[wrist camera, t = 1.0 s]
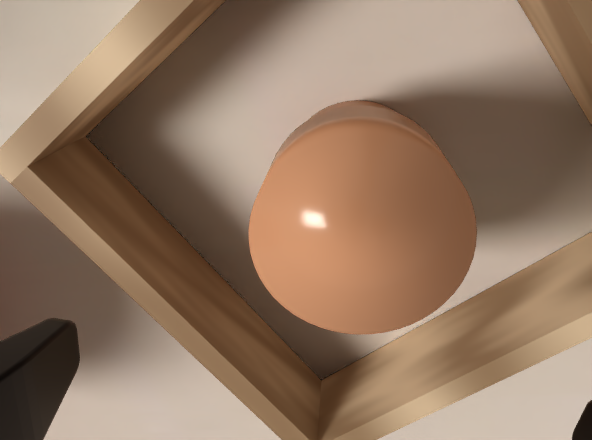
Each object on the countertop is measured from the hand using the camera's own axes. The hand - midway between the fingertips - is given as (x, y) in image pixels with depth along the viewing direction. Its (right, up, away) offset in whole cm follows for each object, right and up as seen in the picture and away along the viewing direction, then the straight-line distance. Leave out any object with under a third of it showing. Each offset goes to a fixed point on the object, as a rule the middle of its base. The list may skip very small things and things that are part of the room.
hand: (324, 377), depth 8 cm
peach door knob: (+2, +5, +11) cm, 12 cm away
